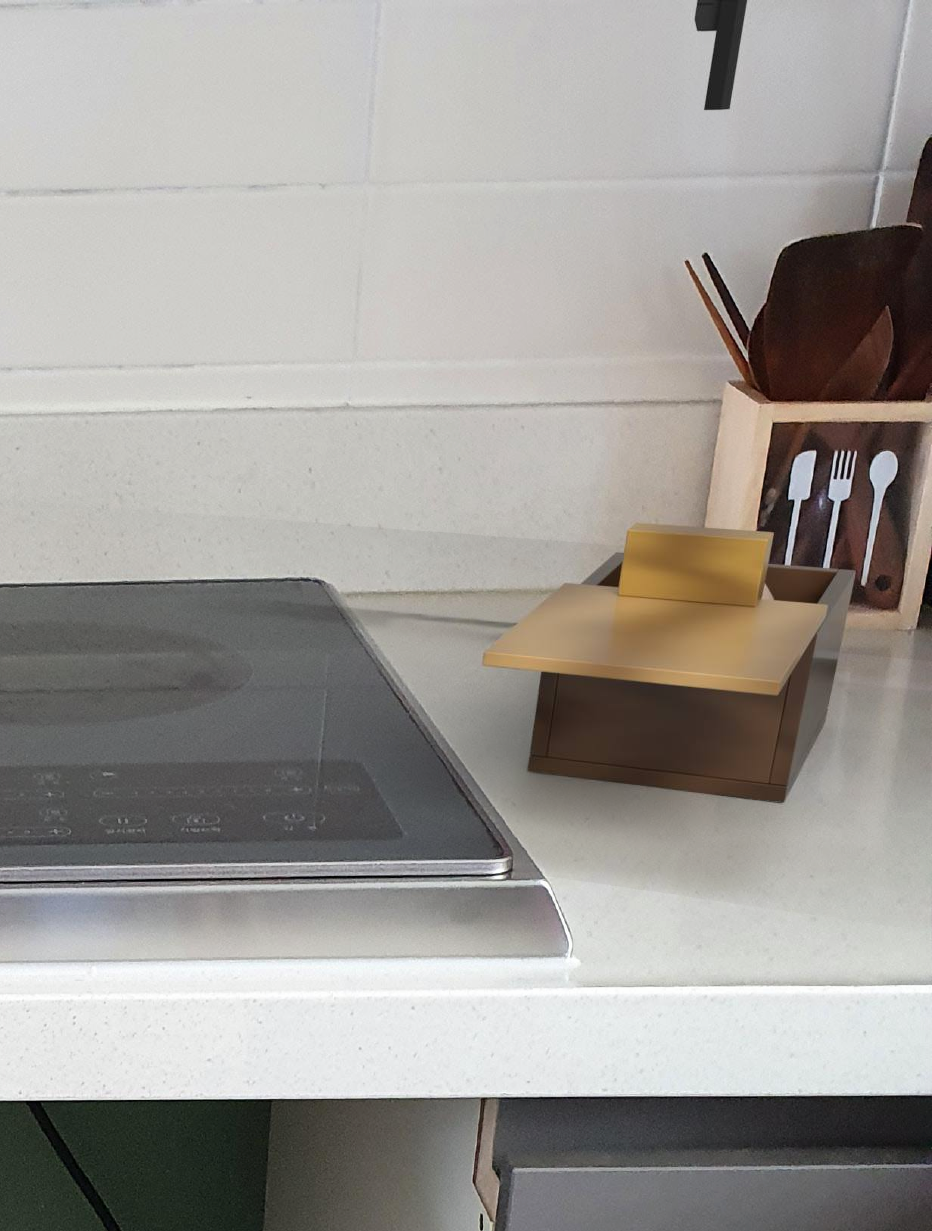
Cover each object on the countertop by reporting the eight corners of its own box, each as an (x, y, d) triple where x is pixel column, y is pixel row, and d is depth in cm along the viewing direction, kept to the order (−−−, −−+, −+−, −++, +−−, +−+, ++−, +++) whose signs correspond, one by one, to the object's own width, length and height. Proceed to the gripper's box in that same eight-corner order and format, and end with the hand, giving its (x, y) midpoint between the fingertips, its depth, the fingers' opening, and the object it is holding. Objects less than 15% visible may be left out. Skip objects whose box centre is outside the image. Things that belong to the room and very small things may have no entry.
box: (825, 722, 109) (856, 570, 105) (784, 803, 97) (817, 634, 93) (593, 697, 114) (615, 551, 111) (526, 771, 102) (549, 610, 99)
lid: (825, 617, 95) (841, 536, 94) (777, 696, 83) (795, 605, 82) (562, 595, 101) (573, 518, 99) (481, 665, 89) (492, 579, 87)
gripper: (1328, -480, 85) (1184, 101, 95) (680, -401, 97) (609, 110, 106) (1340, -520, 80) (1185, 102, 89) (650, -431, 91) (578, 112, 101)
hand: (872, 108), depth 98 cm, fingers open, 13 cm apart
